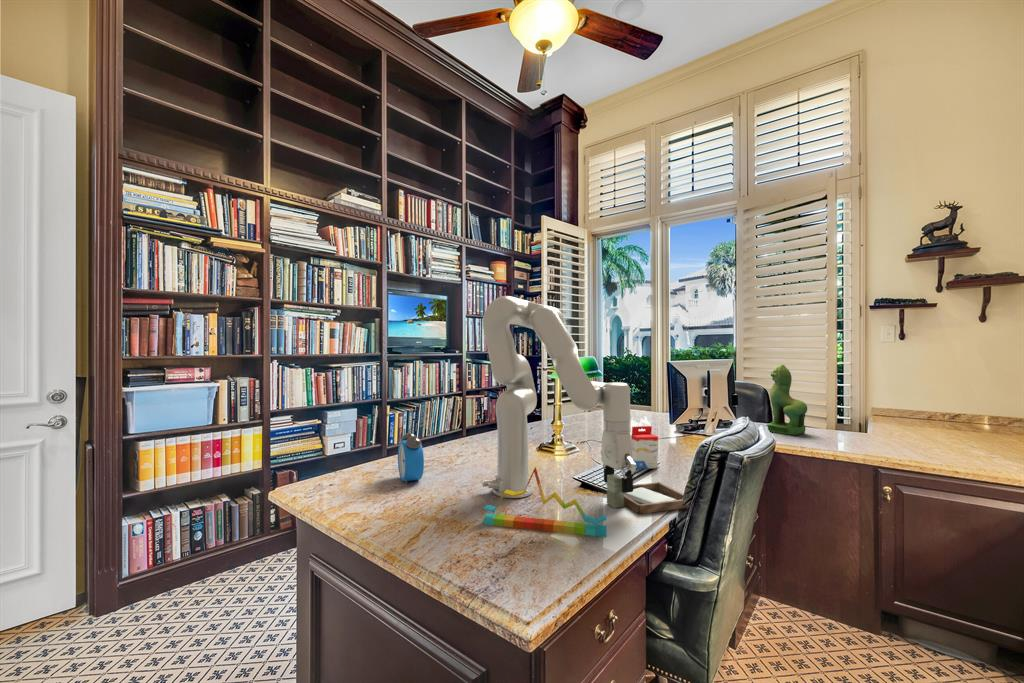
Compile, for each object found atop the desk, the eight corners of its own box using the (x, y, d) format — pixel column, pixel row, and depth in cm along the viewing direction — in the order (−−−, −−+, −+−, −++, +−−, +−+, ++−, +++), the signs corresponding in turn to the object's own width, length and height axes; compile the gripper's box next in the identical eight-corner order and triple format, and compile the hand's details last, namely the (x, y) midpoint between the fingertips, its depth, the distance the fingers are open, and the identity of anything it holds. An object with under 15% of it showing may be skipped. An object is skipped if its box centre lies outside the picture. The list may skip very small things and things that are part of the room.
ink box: (636, 469, 163) (637, 429, 163) (630, 465, 168) (630, 426, 168) (658, 468, 165) (658, 428, 165) (651, 464, 170) (651, 425, 170)
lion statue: (775, 428, 241) (776, 363, 241) (810, 434, 228) (811, 365, 227) (763, 431, 233) (764, 364, 233) (798, 437, 220) (799, 365, 219)
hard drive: (623, 491, 134) (658, 504, 124) (642, 486, 138) (677, 498, 128) (623, 497, 134) (658, 510, 124) (642, 492, 138) (677, 504, 128)
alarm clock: (397, 475, 153) (397, 431, 153) (415, 473, 156) (415, 430, 156) (405, 487, 141) (405, 439, 141) (424, 484, 144) (425, 438, 144)
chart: (606, 532, 110) (607, 471, 110) (606, 538, 107) (606, 475, 107) (487, 520, 117) (488, 462, 117) (484, 525, 114) (484, 466, 114)
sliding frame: (625, 515, 120) (625, 485, 120) (597, 495, 135) (597, 469, 134) (693, 507, 126) (693, 478, 126) (659, 489, 141) (659, 463, 141)
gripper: (590, 422, 134) (591, 479, 134) (621, 433, 118) (622, 498, 118) (612, 420, 137) (613, 476, 137) (646, 430, 120) (647, 494, 120)
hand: (618, 486), depth 127 cm, fingers open, 9 cm apart
